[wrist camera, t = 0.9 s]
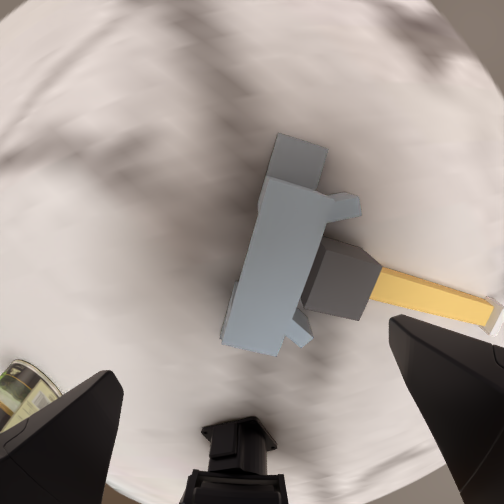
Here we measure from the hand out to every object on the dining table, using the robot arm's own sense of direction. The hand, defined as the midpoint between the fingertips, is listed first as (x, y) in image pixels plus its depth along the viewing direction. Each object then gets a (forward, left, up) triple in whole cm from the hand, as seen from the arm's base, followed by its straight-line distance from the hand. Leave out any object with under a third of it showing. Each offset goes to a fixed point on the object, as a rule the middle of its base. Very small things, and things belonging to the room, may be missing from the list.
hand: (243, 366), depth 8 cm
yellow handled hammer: (-10, -12, -13) cm, 20 cm away
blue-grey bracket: (-2, -2, -13) cm, 14 cm away
